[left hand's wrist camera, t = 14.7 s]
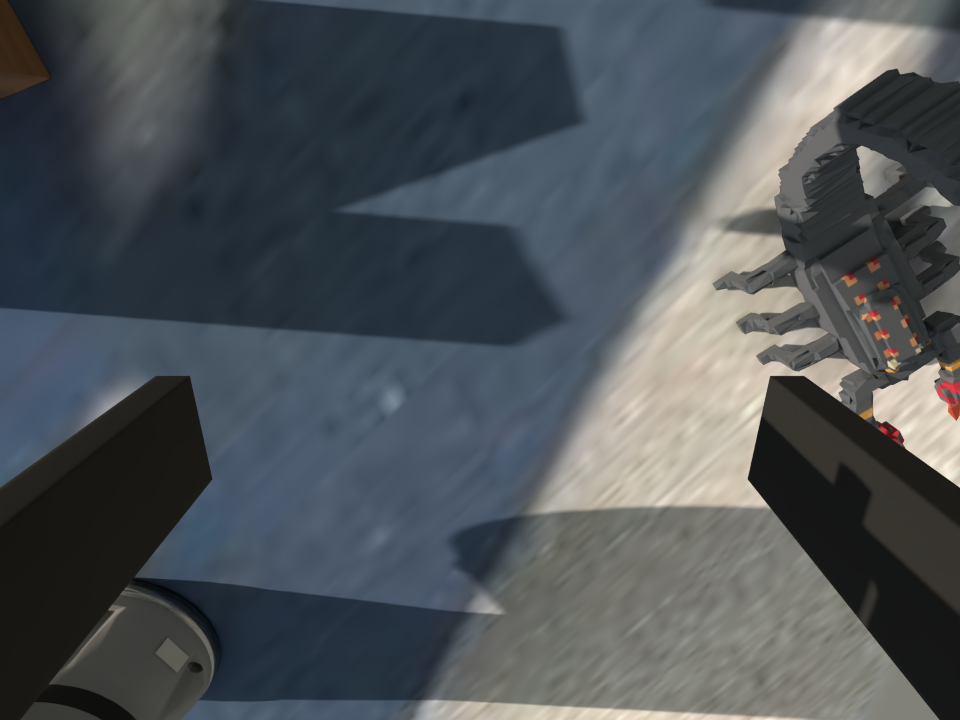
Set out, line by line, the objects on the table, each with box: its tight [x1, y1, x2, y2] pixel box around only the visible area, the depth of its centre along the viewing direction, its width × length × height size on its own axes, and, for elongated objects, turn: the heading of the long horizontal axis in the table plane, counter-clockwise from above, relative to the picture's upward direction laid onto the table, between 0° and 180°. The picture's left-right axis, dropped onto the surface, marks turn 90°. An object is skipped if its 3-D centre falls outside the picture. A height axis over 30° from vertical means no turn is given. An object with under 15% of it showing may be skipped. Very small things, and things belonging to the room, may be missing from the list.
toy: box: [713, 69, 960, 449], centre depth 29 cm, size 13×27×18 cm, turn 37°
